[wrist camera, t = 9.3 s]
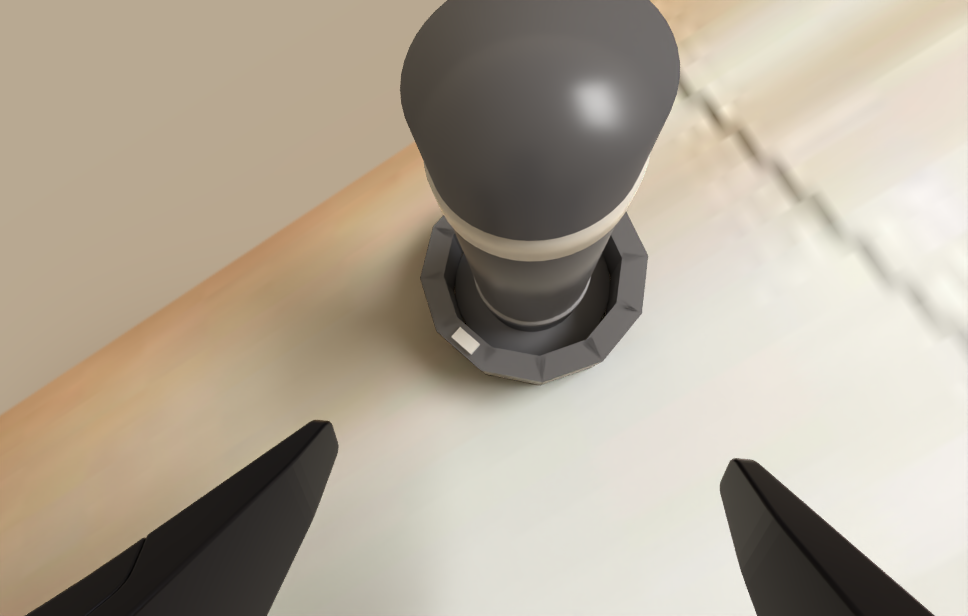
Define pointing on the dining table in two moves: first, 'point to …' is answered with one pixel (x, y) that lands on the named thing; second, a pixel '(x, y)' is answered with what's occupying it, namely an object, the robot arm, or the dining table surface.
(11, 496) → the dining table surface
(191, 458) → the dining table surface
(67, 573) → the dining table surface
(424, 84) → the dark grey banded cylinder
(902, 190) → the dining table surface
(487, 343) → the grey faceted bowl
